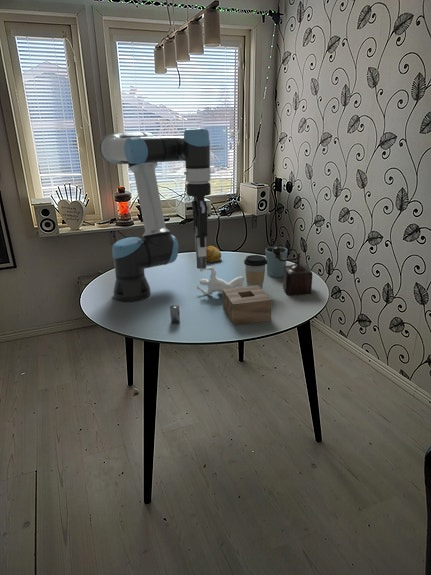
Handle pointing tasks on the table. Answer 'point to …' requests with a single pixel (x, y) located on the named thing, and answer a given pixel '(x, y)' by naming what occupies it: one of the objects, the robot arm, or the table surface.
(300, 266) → the manual coffee grinder
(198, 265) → the long pin
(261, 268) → the coffee cup
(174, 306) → the short pin
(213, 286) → the person figurine
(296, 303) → the table surface
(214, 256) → the bread roll
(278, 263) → the light blue mug
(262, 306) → the pin block
